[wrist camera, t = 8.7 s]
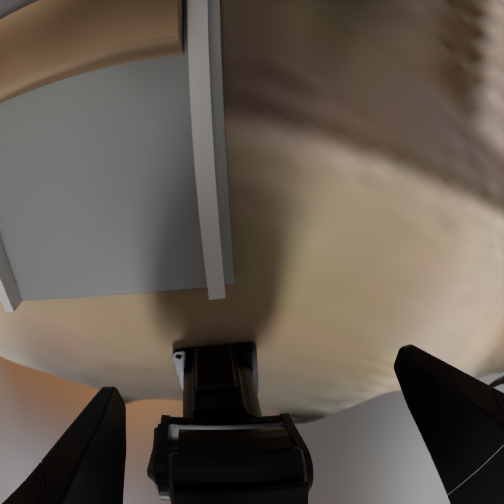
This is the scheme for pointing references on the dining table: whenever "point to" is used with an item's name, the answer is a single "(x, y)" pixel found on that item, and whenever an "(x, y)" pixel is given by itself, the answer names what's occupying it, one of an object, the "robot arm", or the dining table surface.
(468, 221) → the dining table surface
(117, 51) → the walnut slider
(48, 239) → the rail plate
